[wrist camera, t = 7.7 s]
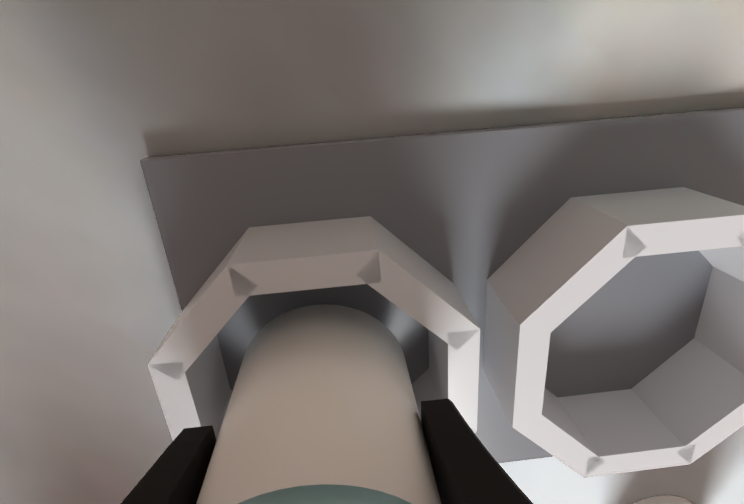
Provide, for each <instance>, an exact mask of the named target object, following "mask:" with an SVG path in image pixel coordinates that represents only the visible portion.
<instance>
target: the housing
mask: <svg viewBox="0 0 744 504" xmlns="http://www.w3.org/2000/svg"><path fill="white" fill-rule="evenodd" d="M140 162H141V166H142V169H143V173H144V176H145V180H146V184H147V187H148V191H149V194H150V198H151V201H152V205H153V209H154V212H155V216H156V219H157V223H158V226H159V230H160V234H161V237H162V241H163V244H164V248H165V251H166V255H167V259H168V262H169V266H170V269H171V273H172V276H173V280H174V284H175V287H176V291H177V294H178V298H179V301H180V305H181V309H182V312H181V314H180V315H179V317H178V318H177V320H176V321H175V323H174V324H173V326H172V327H171V329H170V330H169V332H168V333H167V335H166V337H165V338H164V340H163V341H162V343H161V344H160V346H159V347H158V349H157V350H156V352H155V353H154V355H153V356H152V358H151V360H150V361H149V363H148V364H147V366H148V369H149V372H150V375H151V378H152V381H153V384H154V387H155V390H156V393H157V396H158V399H159V402H160V405H161V408H162V411H163V414H164V417H165V420H166V423H167V426H168V429H169V432H170V435H171V438H172V440H173V441H174V439H175V438H176V437H177V436H178V435H179V434H180V432H181V431H182V430H183V429H184V428H193V427H202V426H210V425H212V426H213V429H214V433H215V436H216V440H217V438H218V435H219V432H220V429H221V426H222V423H223V419H224V416H225V413H226V410H227V407H228V404H229V401H230V398H231V395H232V392H233V389H234V386H235V382H236V379H237V376H238V373H239V370H240V367H241V364H242V361H243V358H244V355H245V352H246V349H247V348H248V346H249V344H250V342H251V340H252V339H253V338H254V337H255V335H256V334H257V333H258V332H259V331H260V330H261V329H262V328H263V327H264V326H265V325H266V324H268V323H269V322H270V321H272V320H273V319H275V318H276V317H278V316H280V315H282V314H284V313H286V312H289V311H291V310H294V309H297V308H301V307H304V306H311V305H321V304H331V305H341V306H346V307H351V308H354V309H357V310H360V311H363V312H365V313H367V314H369V315H371V316H373V317H374V318H376V319H377V320H379V321H380V322H382V323H383V324H384V325H385V326H386V327H387V328H388V329H389V330H390V331H391V332H392V333H393V334H394V336H395V337H396V339H397V340H398V341H399V343H400V346H401V348H402V350H403V353H404V356H405V360H406V364H407V368H408V372H409V376H410V380H411V384H412V388H413V392H414V396H415V400H416V404H417V408H418V412H419V416H420V420H421V401H429V400H437V399H446V398H448V399H449V400H451V401H452V402H453V403H454V405H455V406H456V408H457V410H458V411H459V412H460V414H461V415H462V417H463V418H464V420H465V421H466V422H467V424H468V425H469V427H470V428H471V429H472V431H473V432H474V433H475V435H476V436H477V437H478V439H479V440H480V441H481V442H482V444H483V445H484V446H485V448H486V449H487V450H488V451H489V453H490V454H491V455H492V456H493V458H494V459H495V460H496V461H497V462H498V463H503V462H511V461H519V460H528V459H536V458H544V457H552V456H554V457H556V458H557V459H558V460H560V461H561V462H563V463H564V464H566V465H567V466H568V467H570V468H571V469H573V470H574V471H576V472H577V473H578V474H580V475H581V476H583V477H585V478H586V477H594V476H602V475H610V474H618V473H626V472H634V471H642V470H650V469H658V468H665V467H673V466H681V465H689V464H691V463H693V462H694V461H696V460H697V459H698V458H700V457H701V456H703V455H704V454H705V453H707V452H708V451H710V450H711V449H712V448H714V447H715V446H716V445H718V444H719V443H721V442H722V441H723V440H725V439H726V438H728V437H729V436H730V435H732V434H733V433H734V432H736V431H737V430H739V429H740V428H741V427H743V426H744V107H742V108H730V109H718V110H706V111H694V112H682V113H670V114H658V115H647V116H635V117H623V118H611V119H599V120H587V121H575V122H563V123H551V124H539V125H528V126H516V127H504V128H492V129H480V130H468V131H456V132H444V133H432V134H420V135H409V136H397V137H385V138H373V139H361V140H349V141H337V142H325V143H313V144H301V145H289V146H278V147H266V148H254V149H242V150H230V151H218V152H206V153H194V154H182V155H170V156H159V157H148V158H146V159H143V160H141V161H140Z"/></svg>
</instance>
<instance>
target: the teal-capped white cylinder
mask: <svg viewBox="0 0 744 504" xmlns="http://www.w3.org/2000/svg"><path fill="white" fill-rule="evenodd" d="M196 504H441V500H440V496H439V492H438V488H437V484H436V480H435V476H434V472H433V468H432V464H431V460H430V456H429V452H428V448H427V444H426V440H425V436H424V432H423V428H422V424H421V420H420V416H419V412H418V408H417V404H416V400H415V396H414V392H413V388H412V384H411V380H410V376H409V372H408V368H407V364H406V360H405V356H404V353H403V350H402V348H401V346H400V343H399V341H398V340H397V339H396V337H395V336H394V334H393V333H392V332H391V331H390V330H389V329H388V328H387V327H386V326H385V325H384V324H383V323H382V322H380V321H379V320H377V319H376V318H374V317H373V316H371V315H369V314H367V313H365V312H363V311H360V310H357V309H354V308H351V307H346V306H341V305H331V304H321V305H311V306H304V307H301V308H297V309H294V310H291V311H289V312H286V313H284V314H282V315H280V316H278V317H276V318H275V319H273V320H272V321H270V322H269V323H268V324H266V325H265V326H264V327H263V328H262V329H261V330H260V331H259V332H258V333H257V334H256V335H255V337H254V338H253V339H252V340H251V342H250V344H249V346H248V348H247V349H246V352H245V355H244V358H243V361H242V364H241V367H240V370H239V373H238V376H237V379H236V382H235V386H234V389H233V392H232V395H231V398H230V401H229V404H228V407H227V410H226V413H225V416H224V419H223V423H222V426H221V429H220V432H219V435H218V438H217V441H216V444H215V447H214V450H213V453H212V457H211V460H210V463H209V466H208V469H207V472H206V475H205V478H204V481H203V484H202V487H201V491H200V494H199V497H198V500H197V503H196Z"/></svg>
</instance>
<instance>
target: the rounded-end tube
mask: <svg viewBox="0 0 744 504" xmlns="http://www.w3.org/2000/svg"><path fill="white" fill-rule="evenodd" d="M633 504H692V503H691V502H690V501H688V500H687V499H684V498H682V497H678V496H671V495H663V496H655V497H650V498H646V499H643V500H640V501H637V502H635V503H633Z"/></svg>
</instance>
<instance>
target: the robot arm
mask: <svg viewBox="0 0 744 504" xmlns="http://www.w3.org/2000/svg"><path fill="white" fill-rule="evenodd" d="M421 424H422V428H423V432H424V436H425V440H426V444H427V448H428V452H429V456H430V460H431V464H432V468H433V472H434V476H435V480H436V484H437V488H438V492H439V496H440V500H441V504H533V503H532V502H531V501H530V500H529V499H528V497H527V496H526V495H525V494H524V493H523V492H522V491H521V490H520V488H519V487H518V486H517V485H516V484H515V483H514V482H513V480H512V479H511V478H510V477H509V476H508V474H507V473H506V472H505V471H504V470H503V468H502V467H501V466H500V465H499V464H498V462H497V461H496V460H495V459H494V458H493V456H492V455H491V454H490V453H489V451H488V450H487V449H486V448H485V446H484V445H483V444H482V442H481V441H480V440H479V439H478V437H477V436H476V435H475V433H474V432H473V431H472V429H471V428H470V427H469V425H468V424H467V422H466V421H465V420H464V418H463V417H462V415H461V414H460V412H459V411H458V410H457V408H456V406H455V405H454V403H453V402H452V401H451V400H449V399H448V398H446V399H437V400H429V401H421ZM216 441H217V440H216V436H215V433H214V429H213V426H212V425H210V426H202V427H193V428H184V429H183V430H182V431H181V432H180V434H179V435H178V436H177V437H176V438H175V439H174V441H173V442H172V443H171V444H170V445H169V447H168V448H167V449H166V450H165V451H164V453H163V454H162V455H161V456H160V457H159V459H158V460H157V461H156V462H155V464H154V465H153V466H152V467H151V468H150V470H149V471H148V472H147V473H146V474H145V476H144V477H143V478H142V479H141V480H140V482H139V483H138V484H137V485H136V486H135V488H134V489H133V490H132V491H131V492H130V493H129V495H128V496H127V497H126V498H125V499H124V500H123V502H122V503H121V504H196V503H197V500H198V497H199V494H200V491H201V487H202V484H203V481H204V478H205V475H206V472H207V469H208V466H209V463H210V460H211V457H212V453H213V450H214V447H215V444H216Z"/></svg>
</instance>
